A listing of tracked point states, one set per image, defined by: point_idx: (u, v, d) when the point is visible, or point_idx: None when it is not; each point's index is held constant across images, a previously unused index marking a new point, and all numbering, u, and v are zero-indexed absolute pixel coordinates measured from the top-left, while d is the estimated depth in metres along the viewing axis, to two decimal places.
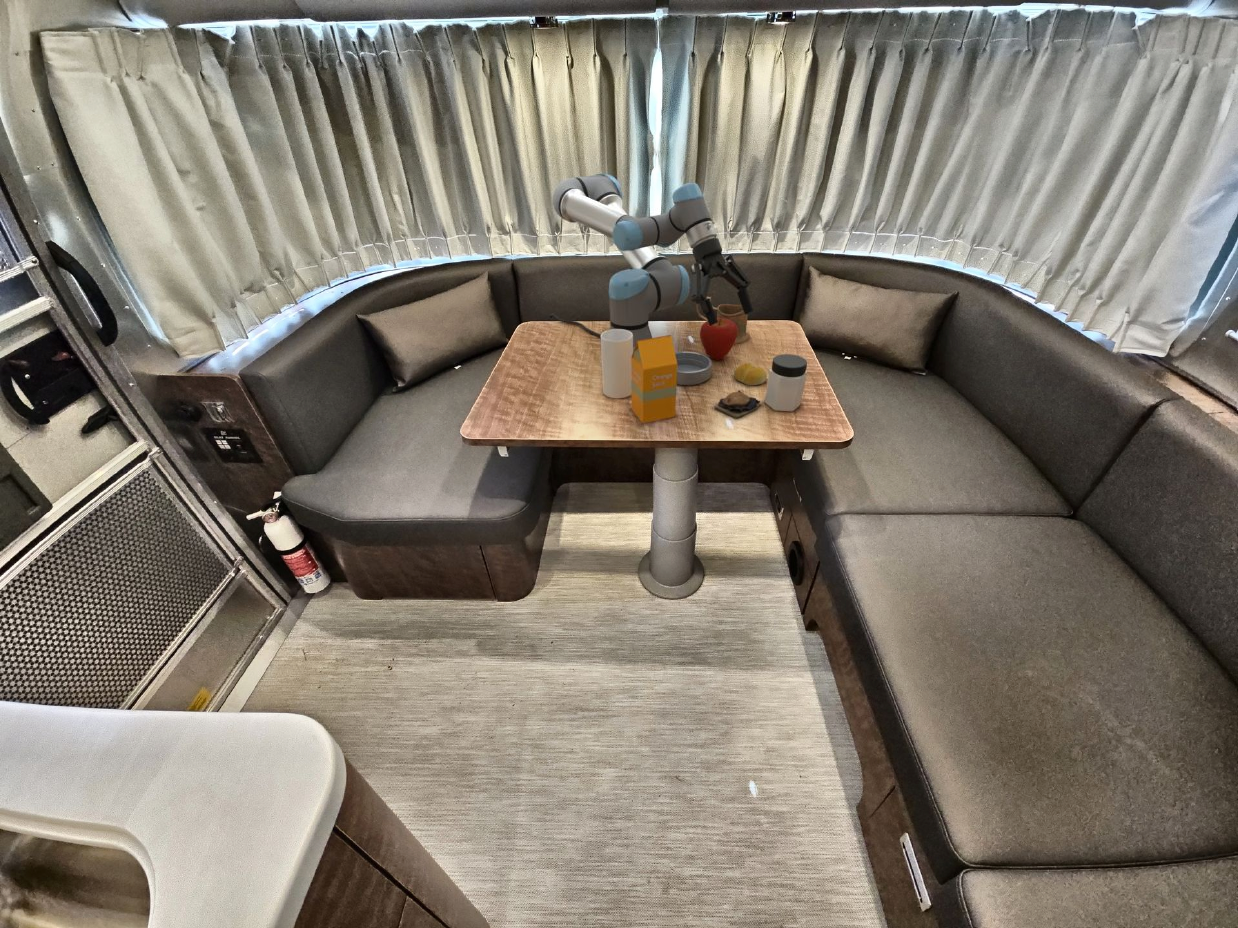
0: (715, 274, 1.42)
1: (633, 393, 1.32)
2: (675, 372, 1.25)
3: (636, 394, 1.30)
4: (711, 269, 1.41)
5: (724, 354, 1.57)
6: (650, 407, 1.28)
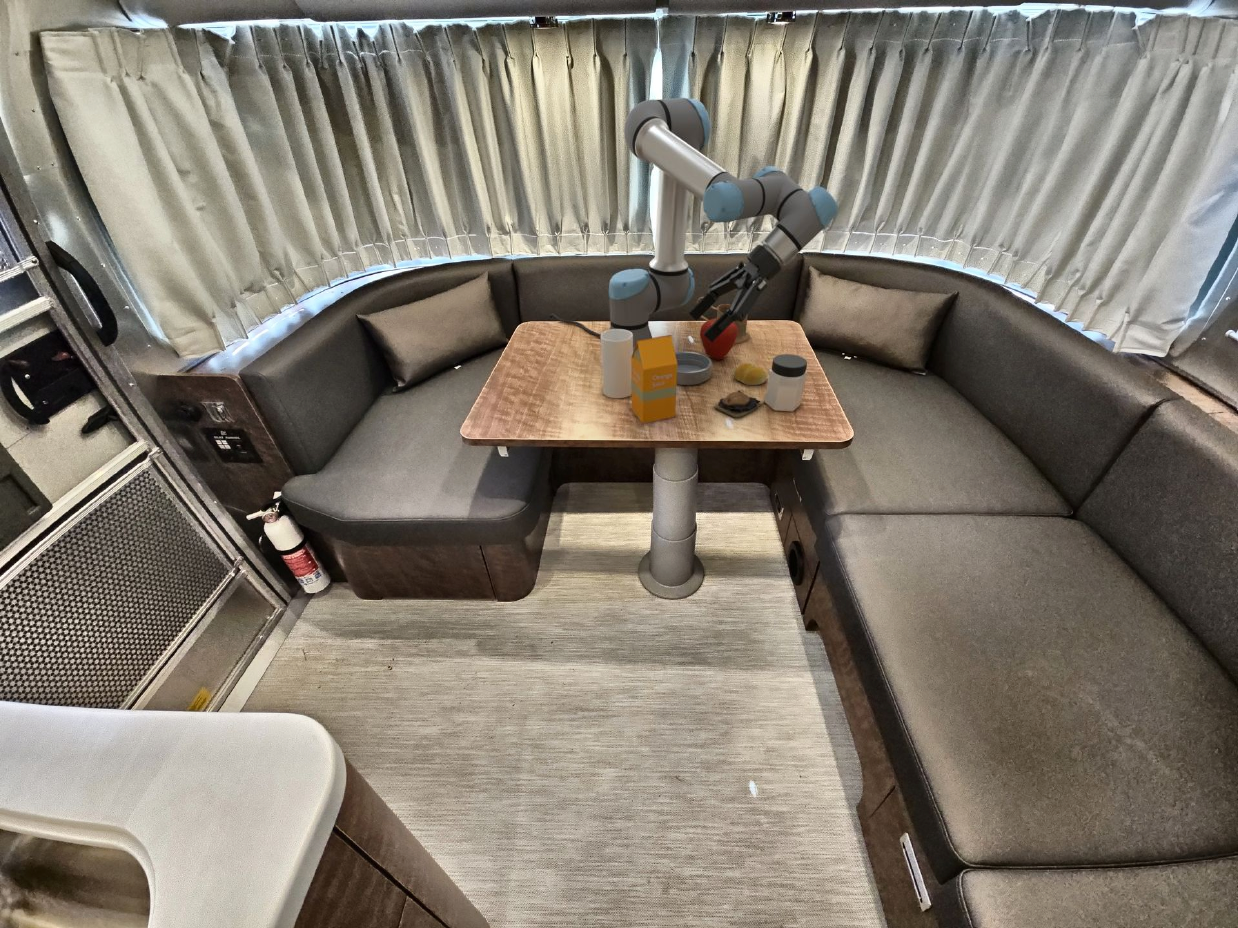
0: None
1: (633, 393, 1.32)
2: (675, 372, 1.25)
3: (636, 394, 1.30)
4: None
5: (724, 354, 1.57)
6: (650, 407, 1.28)
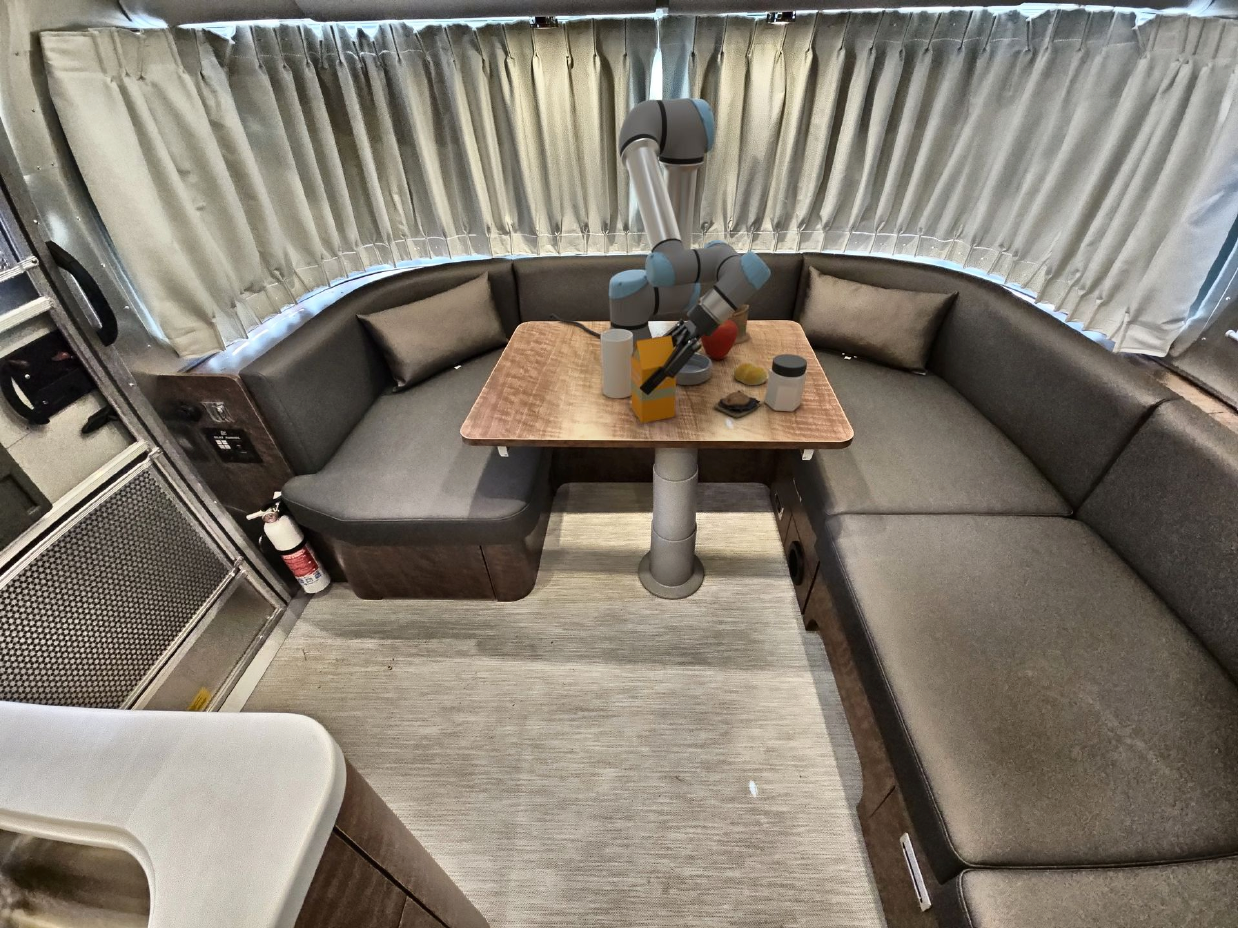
0: None
1: (633, 392, 1.32)
2: None
3: (636, 394, 1.30)
4: None
5: (724, 354, 1.57)
6: (649, 407, 1.29)
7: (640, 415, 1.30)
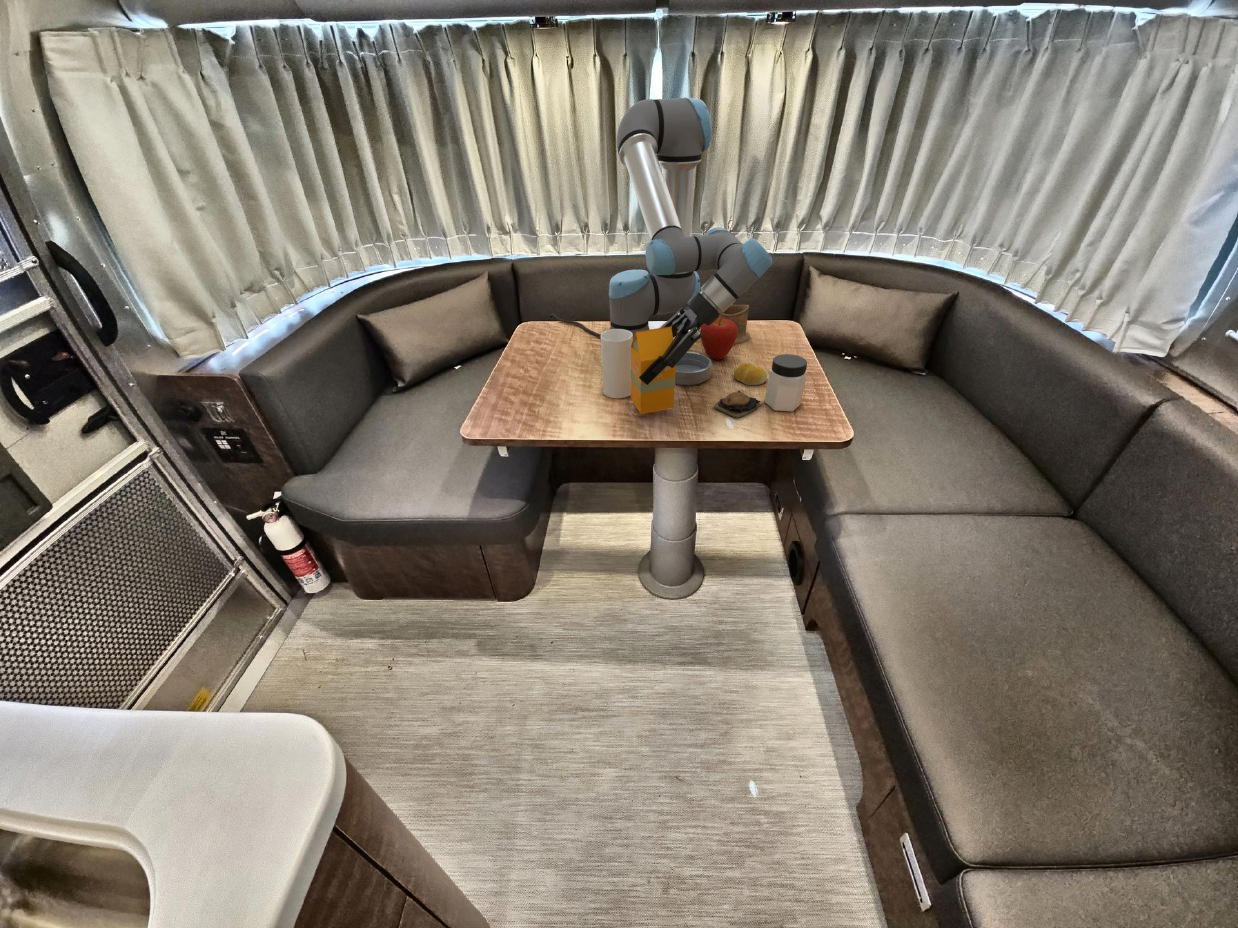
0: None
1: (632, 383, 1.31)
2: None
3: (635, 384, 1.29)
4: None
5: (724, 354, 1.57)
6: (648, 398, 1.28)
7: (639, 406, 1.30)
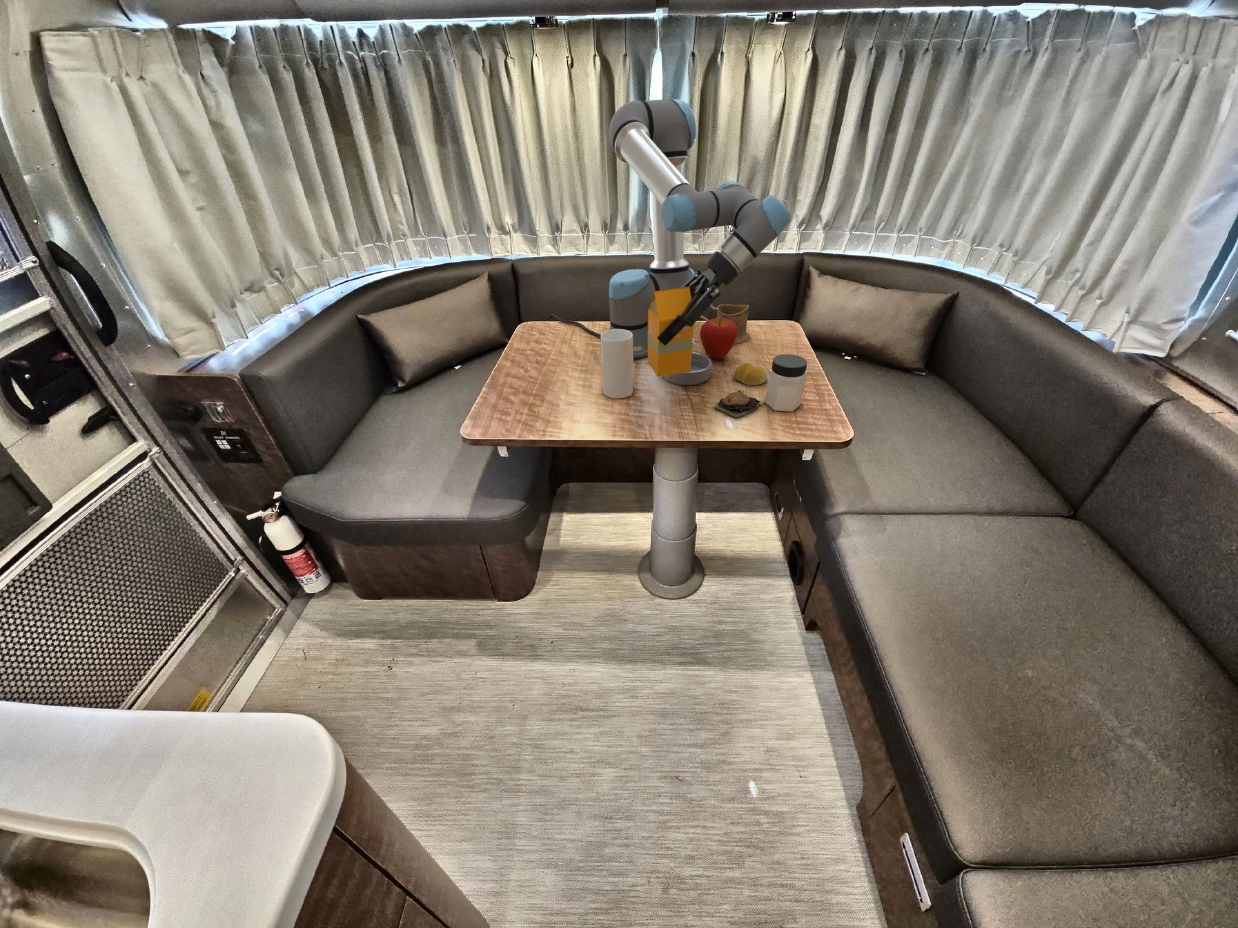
0: None
1: (649, 346, 1.31)
2: None
3: (652, 347, 1.29)
4: None
5: (724, 354, 1.57)
6: (665, 360, 1.28)
7: (656, 369, 1.30)
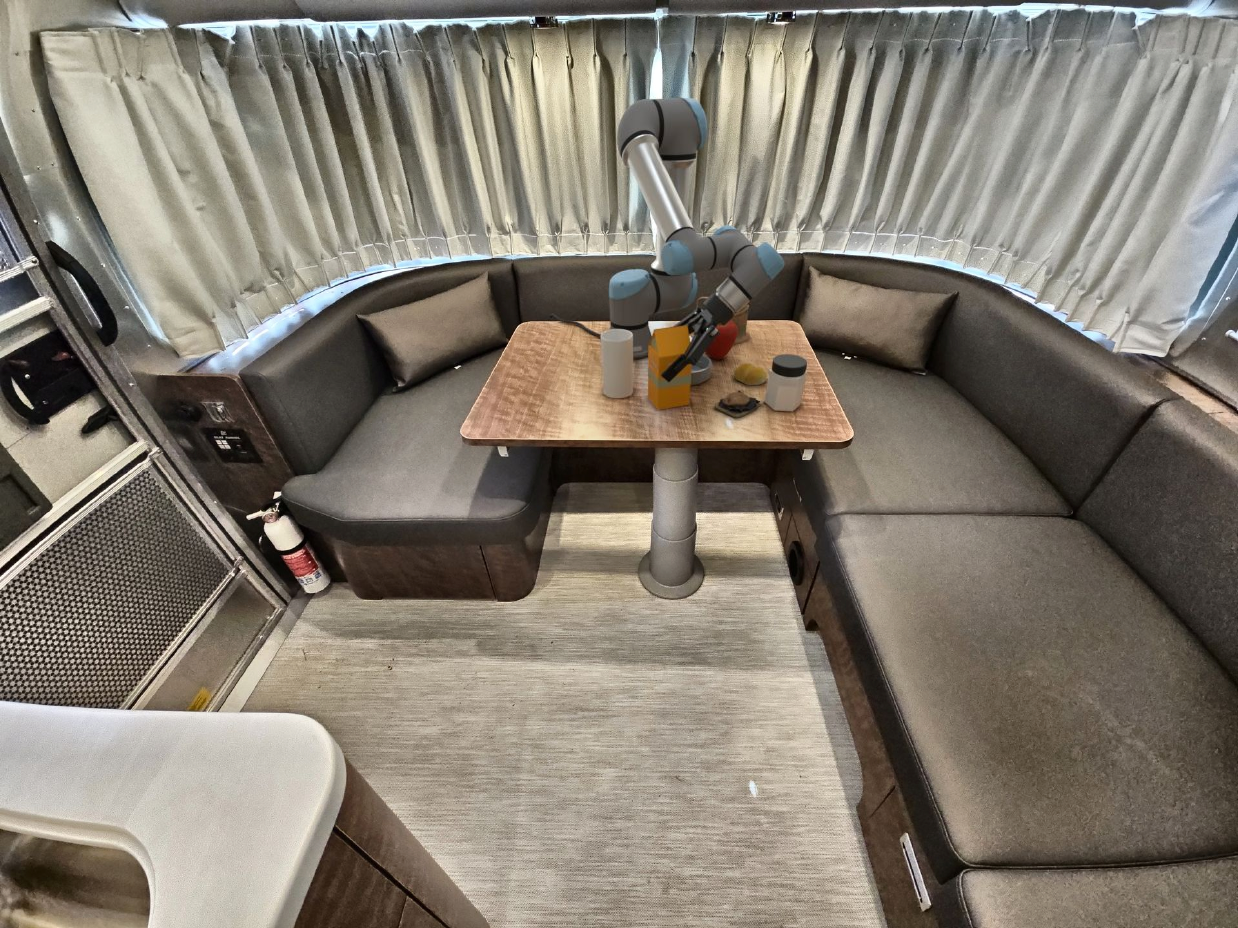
0: None
1: (650, 380, 1.37)
2: None
3: (652, 381, 1.35)
4: None
5: (724, 354, 1.57)
6: (665, 394, 1.34)
7: (656, 402, 1.35)
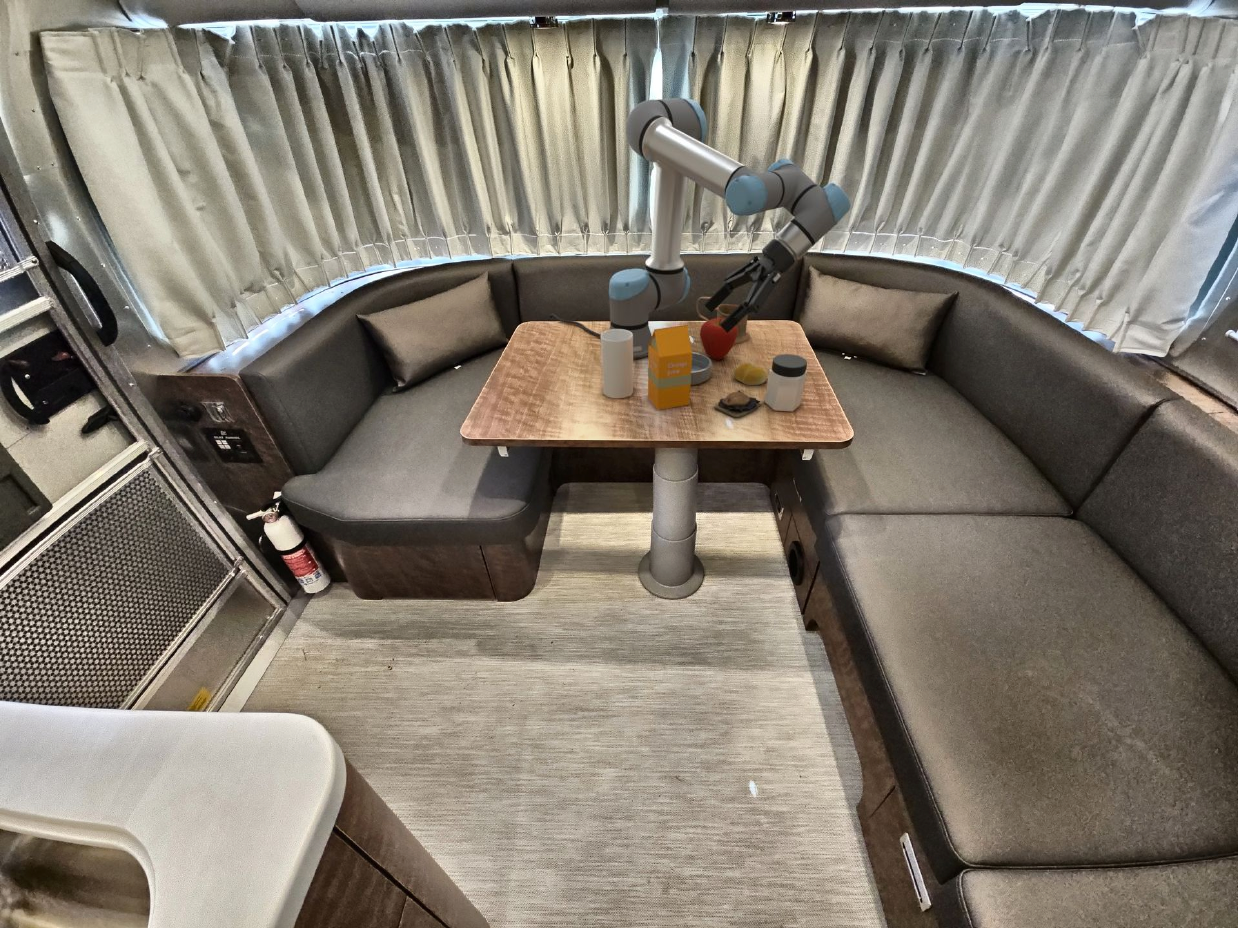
0: None
1: (650, 380, 1.37)
2: (690, 361, 1.30)
3: (652, 381, 1.35)
4: None
5: (724, 354, 1.57)
6: (665, 394, 1.34)
7: (656, 402, 1.35)
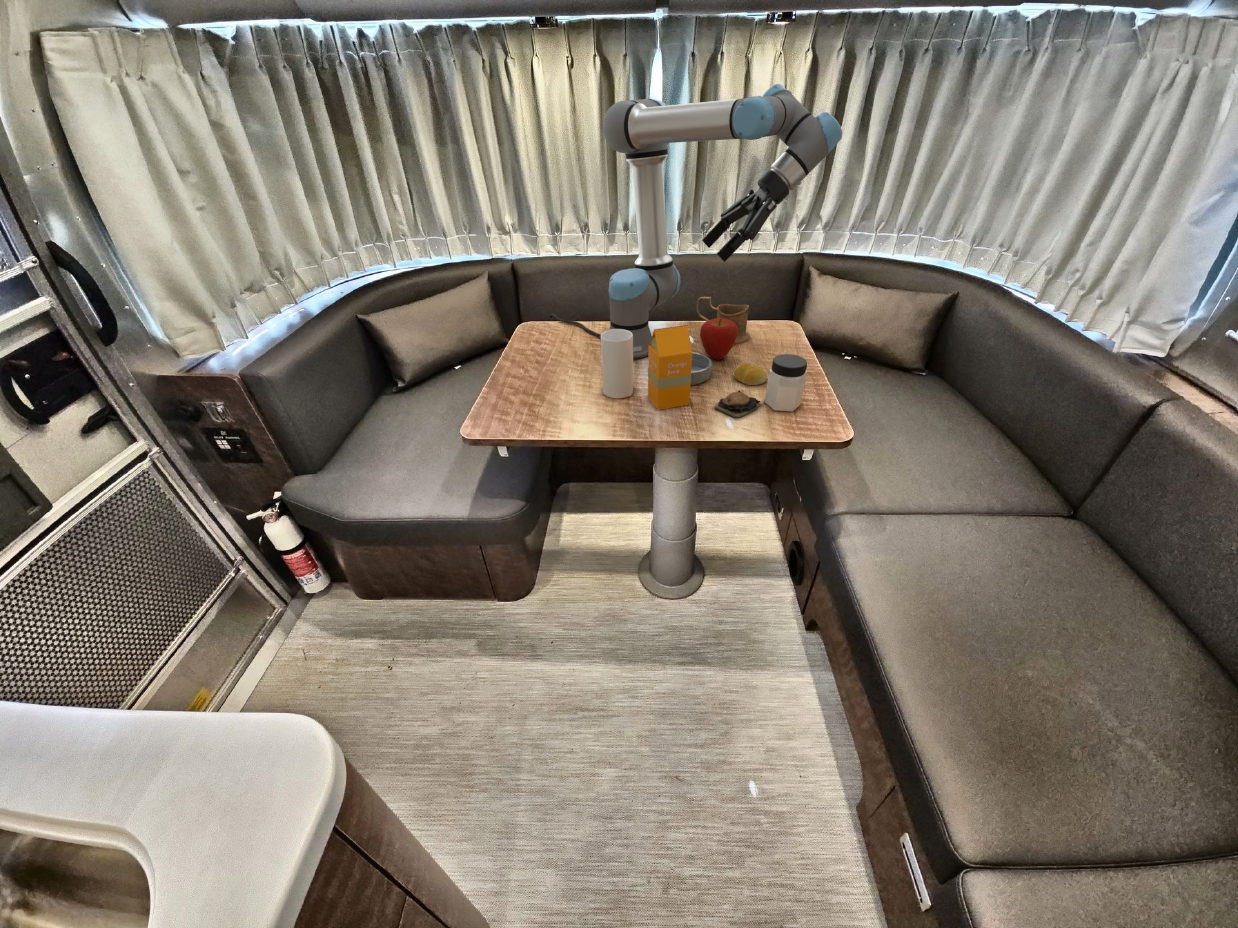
0: None
1: (650, 380, 1.37)
2: (690, 361, 1.30)
3: (652, 381, 1.35)
4: None
5: (724, 354, 1.57)
6: (665, 394, 1.34)
7: (656, 402, 1.35)
